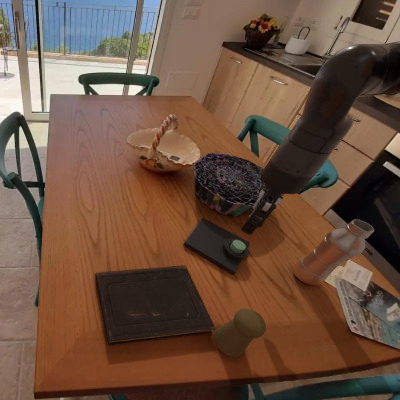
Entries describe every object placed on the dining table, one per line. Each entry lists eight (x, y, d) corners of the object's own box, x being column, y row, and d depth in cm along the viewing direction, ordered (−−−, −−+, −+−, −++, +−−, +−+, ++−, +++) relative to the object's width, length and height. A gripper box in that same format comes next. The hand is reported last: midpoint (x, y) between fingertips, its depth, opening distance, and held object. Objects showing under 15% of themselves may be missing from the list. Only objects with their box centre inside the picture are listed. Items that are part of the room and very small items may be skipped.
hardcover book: (211, 333, 58) (215, 328, 56) (107, 345, 55) (109, 341, 53) (182, 269, 69) (184, 263, 68) (94, 276, 66) (95, 271, 65)
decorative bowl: (272, 199, 94) (289, 176, 88) (248, 238, 78) (267, 213, 72) (203, 167, 107) (214, 145, 100) (170, 195, 90) (181, 170, 84)
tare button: (244, 248, 72) (247, 244, 71) (240, 255, 70) (243, 251, 69) (232, 241, 74) (235, 237, 72) (228, 248, 72) (231, 244, 70)
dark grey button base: (250, 246, 76) (255, 240, 74) (235, 276, 69) (240, 270, 66) (201, 220, 83) (204, 213, 81) (183, 245, 75) (186, 238, 73)
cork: (245, 361, 54) (275, 341, 46) (213, 350, 55) (238, 329, 48) (242, 332, 58) (269, 309, 51) (213, 322, 59) (235, 299, 52)
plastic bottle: (294, 261, 73) (348, 209, 59) (322, 279, 69) (386, 228, 56) (285, 274, 70) (339, 222, 56) (313, 293, 66) (379, 243, 53)
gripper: (311, 191, 44) (260, 249, 56) (321, 156, 53) (275, 213, 64) (263, 171, 48) (224, 230, 59) (279, 141, 56) (243, 198, 67)
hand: (251, 221), depth 61 cm, fingers open, 8 cm apart
